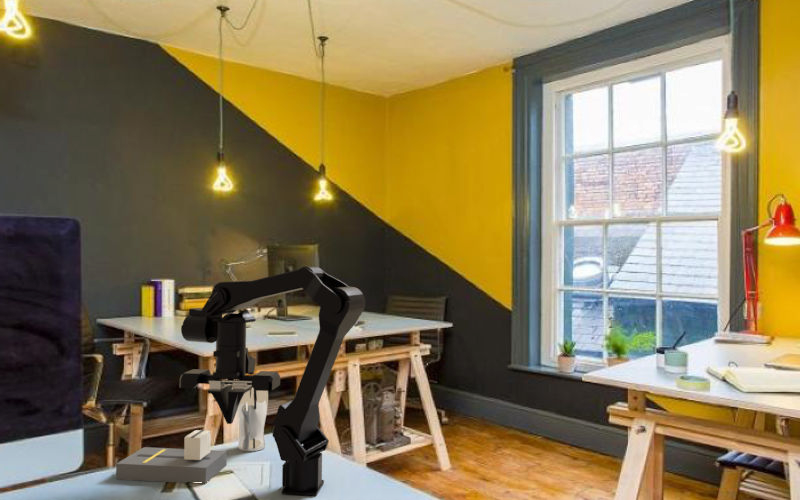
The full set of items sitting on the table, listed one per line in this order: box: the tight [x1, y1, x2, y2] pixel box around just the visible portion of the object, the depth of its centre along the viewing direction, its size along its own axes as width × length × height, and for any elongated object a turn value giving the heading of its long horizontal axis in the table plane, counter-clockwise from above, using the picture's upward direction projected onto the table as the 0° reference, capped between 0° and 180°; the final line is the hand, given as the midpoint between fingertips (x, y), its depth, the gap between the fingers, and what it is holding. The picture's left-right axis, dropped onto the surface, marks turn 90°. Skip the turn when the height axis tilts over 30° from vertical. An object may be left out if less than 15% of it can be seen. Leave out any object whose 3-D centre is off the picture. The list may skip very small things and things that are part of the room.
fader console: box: [115, 446, 228, 484], centre depth 116 cm, size 18×10×3 cm, turn 84°
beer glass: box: [236, 385, 269, 453], centre depth 132 cm, size 7×7×15 cm
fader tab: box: [183, 429, 212, 460], centre depth 116 cm, size 3×5×4 cm, turn 174°
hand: (229, 423), depth 115 cm, fingers closed
